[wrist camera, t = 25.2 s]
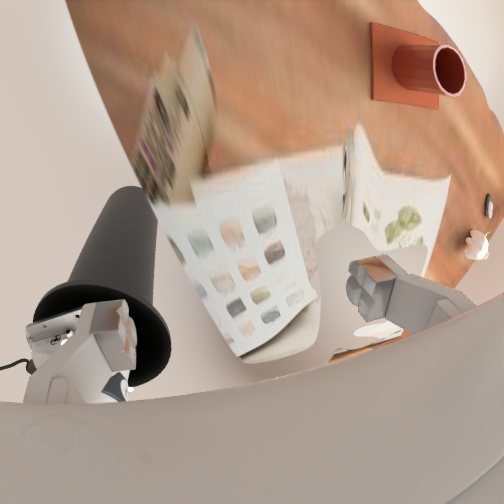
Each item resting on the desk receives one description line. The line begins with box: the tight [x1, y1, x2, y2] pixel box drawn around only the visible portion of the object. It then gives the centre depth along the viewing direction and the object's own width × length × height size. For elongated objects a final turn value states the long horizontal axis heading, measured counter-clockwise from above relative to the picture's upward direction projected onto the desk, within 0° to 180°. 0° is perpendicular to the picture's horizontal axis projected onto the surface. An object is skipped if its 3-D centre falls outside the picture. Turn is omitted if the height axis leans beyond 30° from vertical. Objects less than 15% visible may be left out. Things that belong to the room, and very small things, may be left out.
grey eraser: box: [486, 194, 493, 219], centre depth 53 cm, size 6×2×1 cm, turn 18°
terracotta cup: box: [392, 44, 466, 97], centre depth 31 cm, size 7×7×9 cm
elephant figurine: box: [464, 230, 489, 260], centre depth 54 cm, size 7×8×6 cm
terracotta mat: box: [371, 22, 439, 109], centre depth 35 cm, size 14×12×1 cm
